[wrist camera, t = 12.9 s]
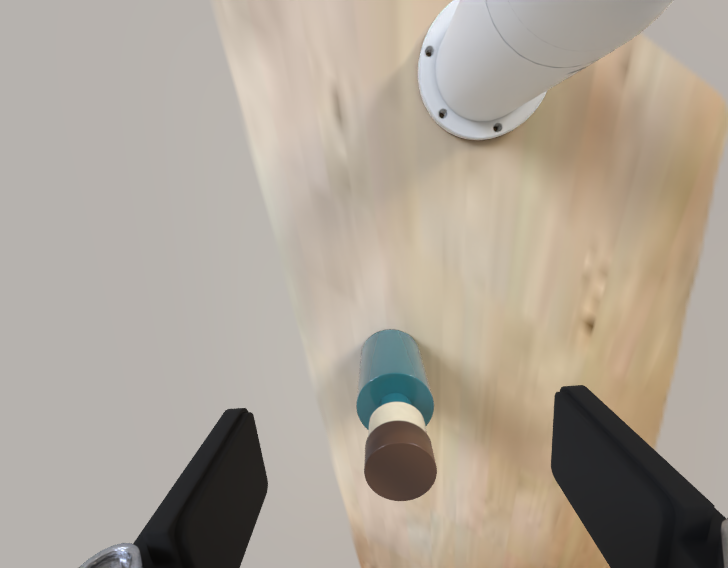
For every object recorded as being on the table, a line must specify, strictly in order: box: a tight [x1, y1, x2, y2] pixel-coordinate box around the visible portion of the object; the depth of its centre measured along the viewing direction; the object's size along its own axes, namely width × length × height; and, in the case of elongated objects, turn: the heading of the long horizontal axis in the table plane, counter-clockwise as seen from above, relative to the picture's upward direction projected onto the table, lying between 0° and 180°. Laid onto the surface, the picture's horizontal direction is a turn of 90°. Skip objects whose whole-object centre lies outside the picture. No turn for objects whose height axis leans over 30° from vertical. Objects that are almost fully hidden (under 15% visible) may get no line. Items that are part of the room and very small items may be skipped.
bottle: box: [357, 329, 434, 436], centre depth 33 cm, size 7×7×15 cm
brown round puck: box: [364, 420, 437, 501], centre depth 25 cm, size 5×5×2 cm
